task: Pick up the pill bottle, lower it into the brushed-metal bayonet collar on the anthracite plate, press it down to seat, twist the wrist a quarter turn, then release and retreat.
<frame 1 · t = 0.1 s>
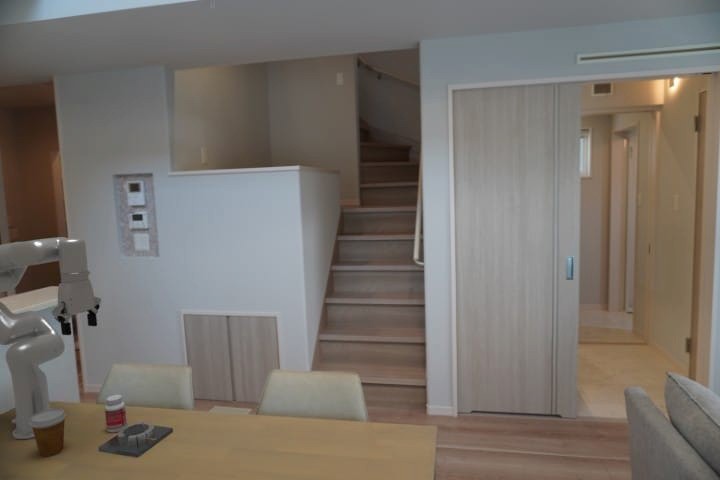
hand: (80, 330, 153), 37 cm above the table, tool pointing down, fingers open, 9 cm apart
disposable coffee cup: (51, 451, 151), on the table
pill bottle: (116, 429, 164), on the table
socket plate: (137, 440, 155), on the table
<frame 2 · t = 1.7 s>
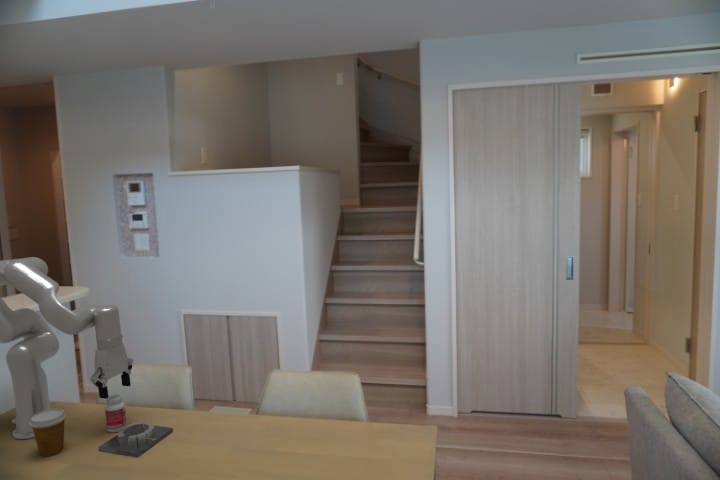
hand: (115, 391, 163), 13 cm above the table, tool pointing down, fingers open, 9 cm apart
nothing on the table moved.
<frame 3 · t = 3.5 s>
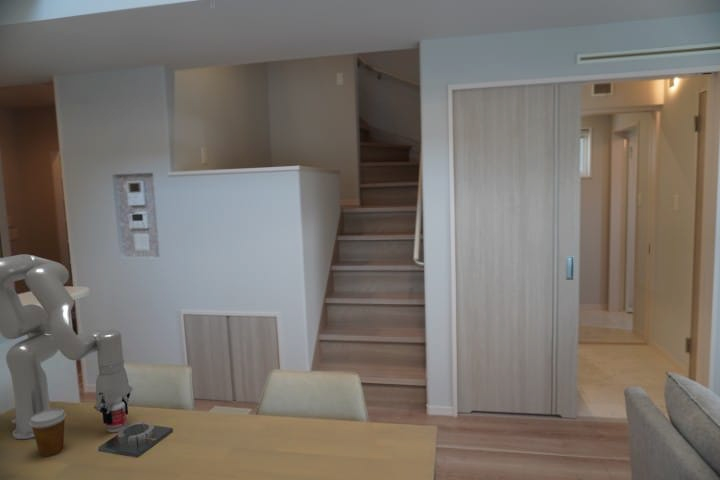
hand: (115, 418, 164), 4 cm above the table, tool pointing down, fingers closed on pill bottle, 6 cm apart
pill bottle: (116, 429, 164), on the table, touching gripper
everything else where it was.
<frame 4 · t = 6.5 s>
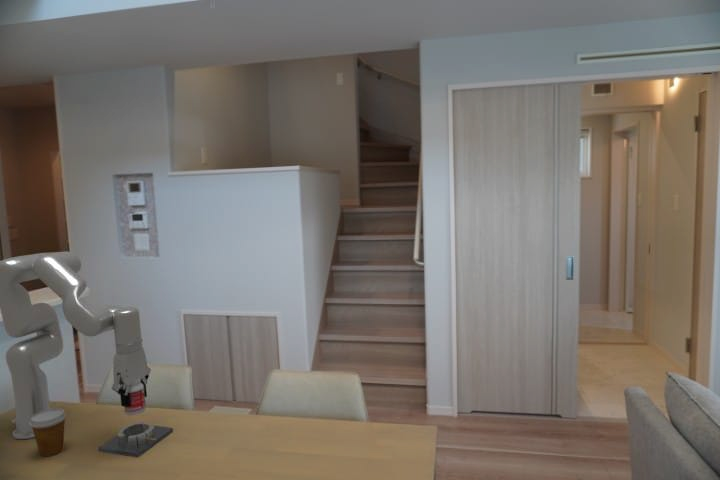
hand: (134, 400, 154), 13 cm above the table, tool pointing down, fingers closed on pill bottle, 6 cm apart
pill bottle: (135, 412, 154), point 10 cm above the table, touching gripper
everything else where it was.
when the fingers open (5 cm above the table, at t = 9.5 s): pill bottle stays where it is, resting on socket plate.
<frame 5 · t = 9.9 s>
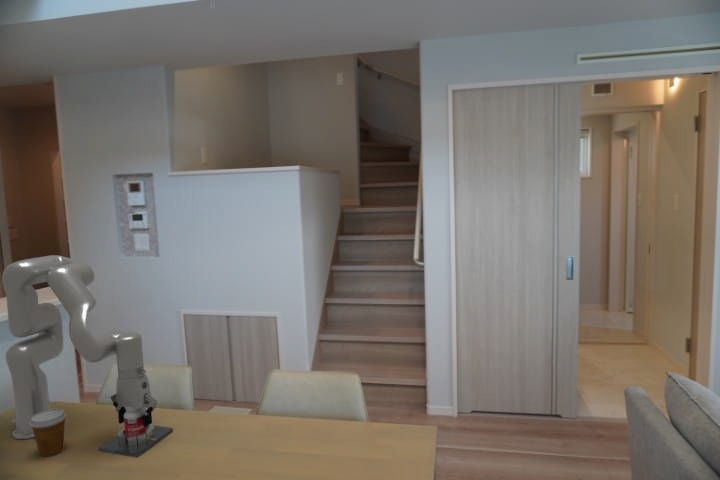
hand: (135, 423, 155), 6 cm above the table, tool pointing down, fingers open, 9 cm apart
pill bottle: (136, 437, 155), point 1 cm above the table, touching socket plate
everything else where it was.
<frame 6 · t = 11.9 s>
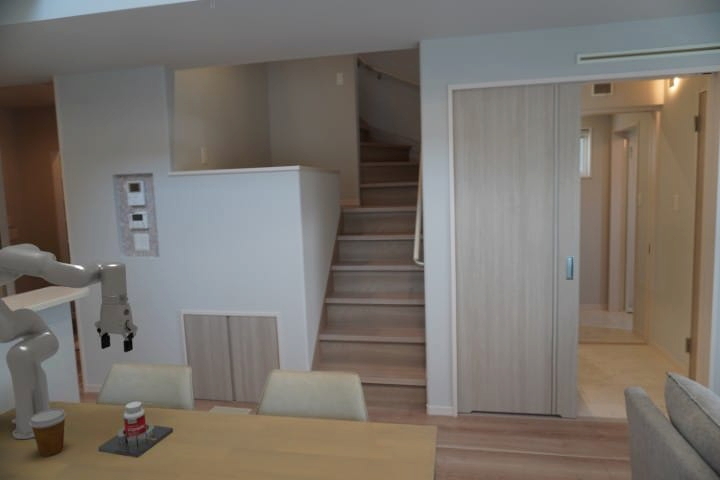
hand: (117, 349, 161), 28 cm above the table, tool pointing down, fingers open, 9 cm apart
nothing on the table moved.
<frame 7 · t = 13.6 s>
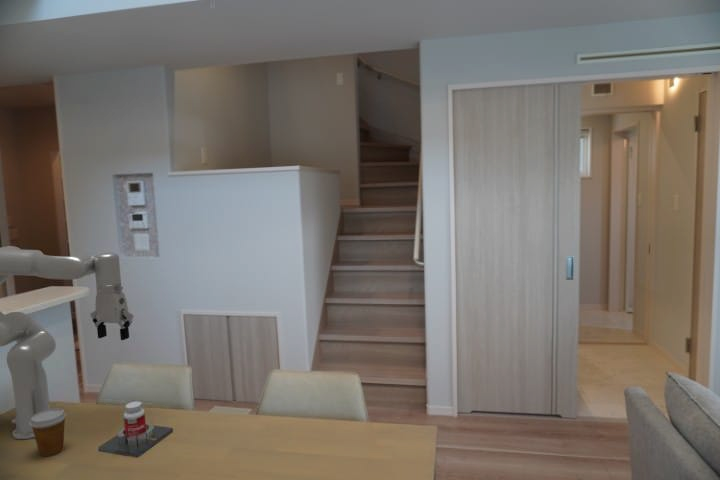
hand: (113, 338, 165), 30 cm above the table, tool pointing down, fingers open, 9 cm apart
nothing on the table moved.
at the end: pill bottle 0.2 cm off-centre on the socket plate, point 1.0 cm above the socket plate's base; pill bottle tilted 0°; the gripper is holding nothing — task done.
